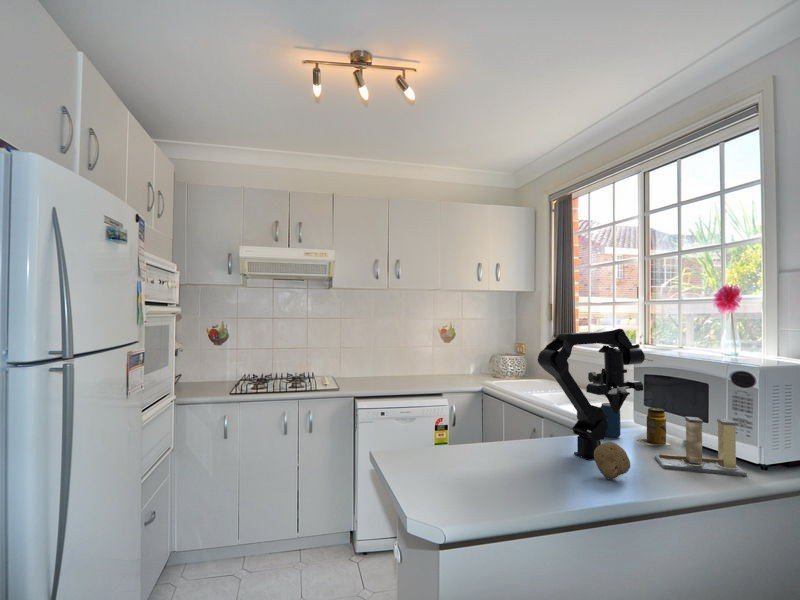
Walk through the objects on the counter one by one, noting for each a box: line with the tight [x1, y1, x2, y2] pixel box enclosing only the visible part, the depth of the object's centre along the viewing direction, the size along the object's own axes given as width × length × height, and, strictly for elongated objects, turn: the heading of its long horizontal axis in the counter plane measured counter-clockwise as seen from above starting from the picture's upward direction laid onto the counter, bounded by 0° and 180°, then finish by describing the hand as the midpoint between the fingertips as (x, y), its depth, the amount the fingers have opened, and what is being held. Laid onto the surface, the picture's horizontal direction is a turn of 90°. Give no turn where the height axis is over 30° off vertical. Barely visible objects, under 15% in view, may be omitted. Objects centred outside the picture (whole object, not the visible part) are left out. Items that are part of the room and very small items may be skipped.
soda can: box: [599, 402, 622, 440], centre depth 165 cm, size 7×7×12 cm
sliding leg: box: [684, 416, 704, 464], centre depth 134 cm, size 3×4×13 cm
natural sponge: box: [593, 441, 631, 480], centre depth 123 cm, size 9×9×10 cm
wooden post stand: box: [653, 418, 748, 477], centre depth 134 cm, size 21×10×14 cm, turn 73°
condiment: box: [636, 407, 672, 446], centre depth 159 cm, size 7×8×12 cm
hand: (615, 413), depth 146 cm, fingers closed
